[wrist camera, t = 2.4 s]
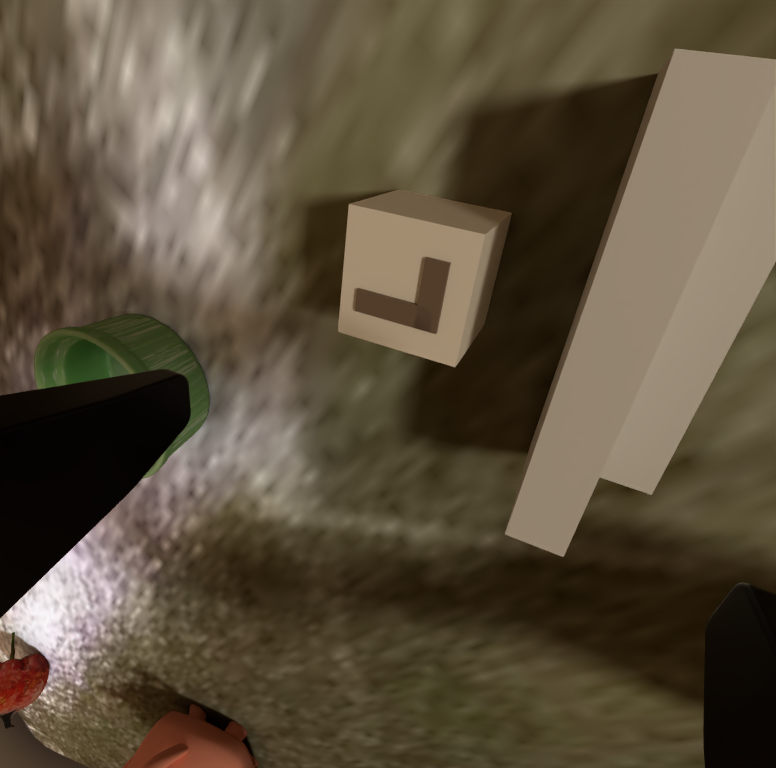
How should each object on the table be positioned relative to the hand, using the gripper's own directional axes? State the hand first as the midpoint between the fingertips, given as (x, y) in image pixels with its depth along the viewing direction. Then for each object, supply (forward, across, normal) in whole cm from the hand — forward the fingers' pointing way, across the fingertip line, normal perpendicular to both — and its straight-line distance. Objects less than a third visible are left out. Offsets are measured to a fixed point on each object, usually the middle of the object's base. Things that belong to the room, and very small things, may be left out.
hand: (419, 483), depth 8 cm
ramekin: (+14, +19, +12) cm, 27 cm away
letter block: (+14, +4, 0) cm, 14 cm away
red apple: (+14, +44, +60) cm, 75 cm away
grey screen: (+13, -4, 0) cm, 14 cm away
